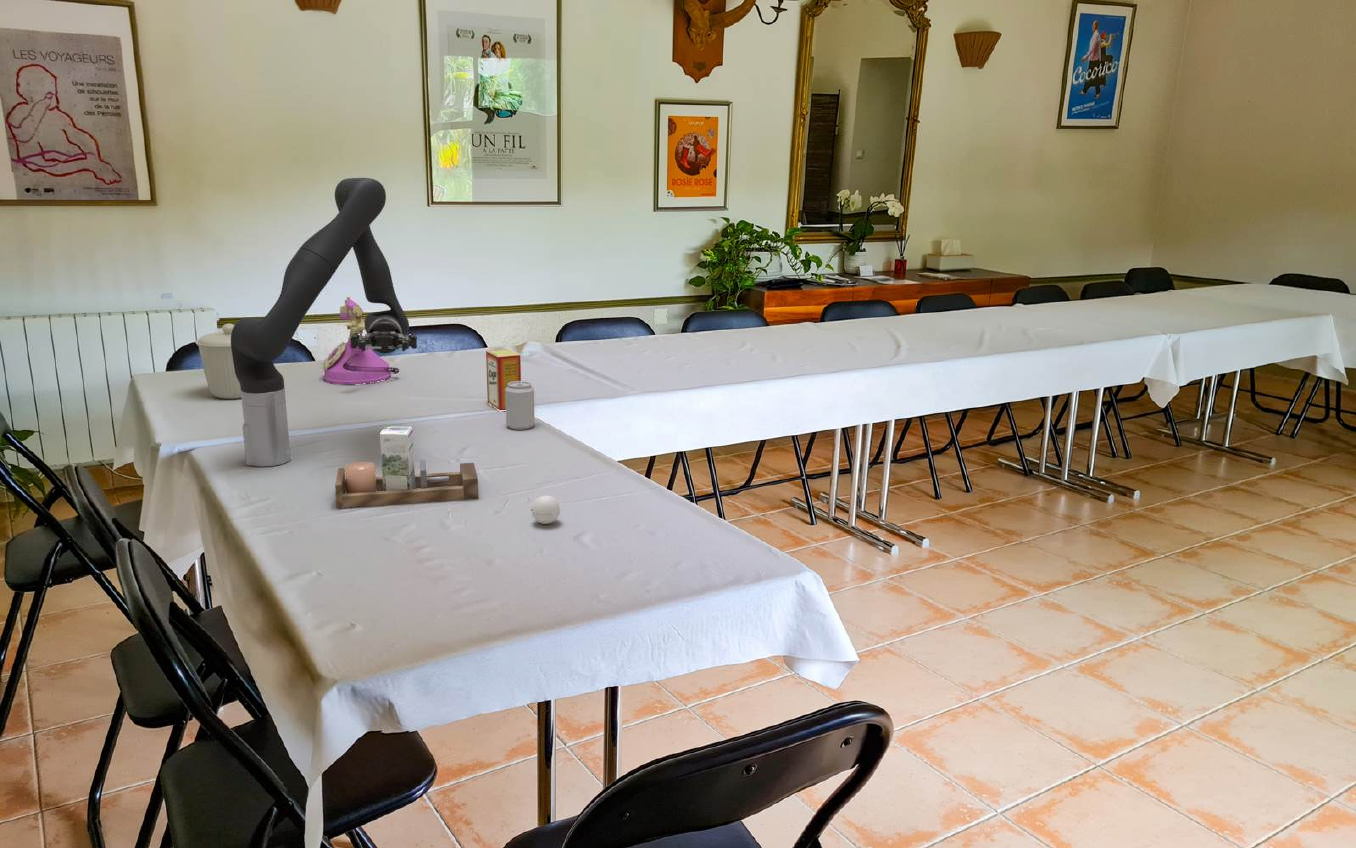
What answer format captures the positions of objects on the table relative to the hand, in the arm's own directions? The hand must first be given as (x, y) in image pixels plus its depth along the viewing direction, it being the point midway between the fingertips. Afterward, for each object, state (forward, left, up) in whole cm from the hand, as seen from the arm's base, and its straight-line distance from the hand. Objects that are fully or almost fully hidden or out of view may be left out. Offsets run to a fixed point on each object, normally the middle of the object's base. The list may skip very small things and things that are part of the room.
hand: (383, 346), depth 213 cm
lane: (+3, -17, -29) cm, 33 cm away
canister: (-44, +81, -29) cm, 97 cm away
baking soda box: (+31, +53, -29) cm, 68 cm away
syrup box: (+2, -17, -29) cm, 34 cm away
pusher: (+9, -17, -28) cm, 34 cm away
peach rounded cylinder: (-6, -17, -29) cm, 34 cm away
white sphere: (+29, -40, -29) cm, 57 cm away
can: (+33, +31, -29) cm, 54 cm away
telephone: (-9, +93, -29) cm, 98 cm away
